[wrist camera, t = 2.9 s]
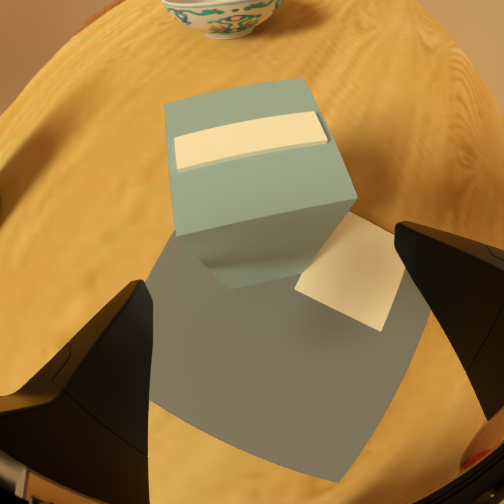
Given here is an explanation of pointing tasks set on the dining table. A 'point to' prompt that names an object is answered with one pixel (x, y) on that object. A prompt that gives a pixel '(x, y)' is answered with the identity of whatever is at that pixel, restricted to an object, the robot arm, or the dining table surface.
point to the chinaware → (222, 15)
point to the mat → (288, 349)
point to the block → (255, 180)
